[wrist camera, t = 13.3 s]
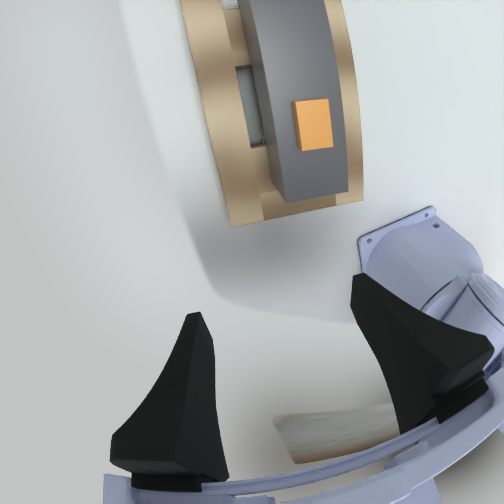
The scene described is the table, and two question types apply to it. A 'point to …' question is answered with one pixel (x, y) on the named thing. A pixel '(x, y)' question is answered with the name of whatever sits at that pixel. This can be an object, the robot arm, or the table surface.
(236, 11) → the keyhole board
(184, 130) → the table surface
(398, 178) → the table surface
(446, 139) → the table surface
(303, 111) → the grey block
